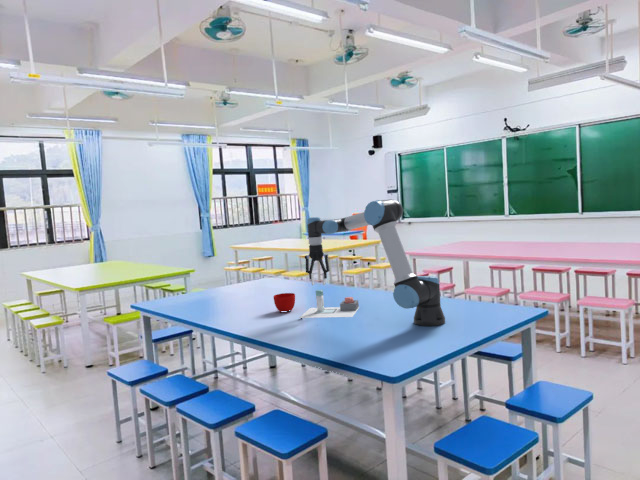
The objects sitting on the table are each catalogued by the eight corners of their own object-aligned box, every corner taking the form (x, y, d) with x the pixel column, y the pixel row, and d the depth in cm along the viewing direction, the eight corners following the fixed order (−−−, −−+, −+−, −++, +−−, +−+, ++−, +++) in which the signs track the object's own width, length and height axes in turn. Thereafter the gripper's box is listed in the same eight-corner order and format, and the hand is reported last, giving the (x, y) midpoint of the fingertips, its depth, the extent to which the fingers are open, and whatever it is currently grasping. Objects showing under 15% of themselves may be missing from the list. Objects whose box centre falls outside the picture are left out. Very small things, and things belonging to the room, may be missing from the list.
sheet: (352, 319, 247) (352, 316, 246) (299, 319, 254) (298, 317, 254) (359, 308, 270) (359, 306, 270) (310, 309, 277) (310, 307, 277)
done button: (353, 306, 263) (352, 298, 263) (344, 306, 264) (343, 298, 264) (354, 304, 268) (353, 296, 267) (346, 304, 269) (345, 297, 269)
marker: (323, 312, 263) (321, 291, 262) (316, 312, 264) (314, 291, 263) (325, 310, 267) (323, 289, 266) (318, 310, 268) (316, 290, 267)
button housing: (356, 310, 261) (355, 303, 260) (340, 310, 263) (340, 303, 263) (358, 306, 269) (358, 300, 269) (343, 307, 272) (343, 300, 271)
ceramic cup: (298, 307, 288) (297, 291, 287) (294, 313, 271) (293, 296, 270) (278, 308, 289) (276, 292, 288) (272, 314, 272) (271, 297, 271)
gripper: (333, 242, 264) (336, 282, 265) (301, 244, 268) (304, 284, 270) (330, 244, 257) (333, 285, 258) (297, 246, 261) (300, 286, 263)
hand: (318, 284), depth 264 cm, fingers open, 6 cm apart
